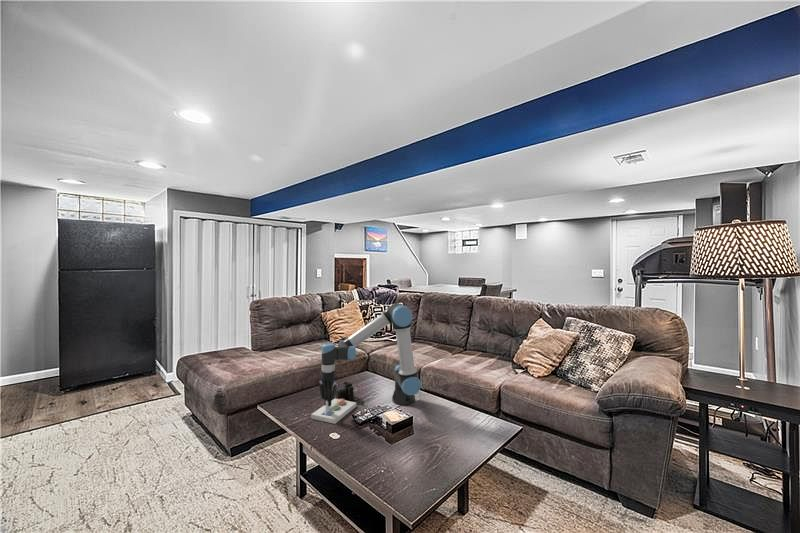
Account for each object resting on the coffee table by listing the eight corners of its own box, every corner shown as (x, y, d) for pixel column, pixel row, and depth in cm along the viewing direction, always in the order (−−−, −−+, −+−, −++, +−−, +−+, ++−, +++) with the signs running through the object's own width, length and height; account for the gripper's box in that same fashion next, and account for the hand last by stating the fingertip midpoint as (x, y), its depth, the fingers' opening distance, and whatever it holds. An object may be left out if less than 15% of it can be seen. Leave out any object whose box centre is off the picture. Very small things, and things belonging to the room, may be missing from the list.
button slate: (333, 415, 195) (333, 410, 195) (329, 419, 191) (329, 414, 191) (326, 414, 197) (326, 409, 197) (322, 417, 193) (322, 412, 192)
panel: (356, 406, 209) (356, 402, 209) (335, 423, 186) (335, 419, 186) (334, 402, 215) (334, 398, 214) (311, 418, 192) (311, 414, 192)
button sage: (340, 408, 202) (340, 403, 202) (335, 412, 197) (335, 407, 197) (333, 407, 204) (333, 402, 203) (329, 410, 199) (329, 405, 199)
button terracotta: (346, 404, 208) (346, 399, 208) (342, 407, 204) (342, 402, 204) (339, 402, 210) (339, 398, 210) (335, 406, 206) (335, 401, 205)
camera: (333, 396, 224) (333, 381, 224) (348, 393, 229) (348, 379, 229) (338, 404, 212) (339, 388, 211) (355, 401, 216) (355, 386, 216)
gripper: (341, 370, 194) (341, 410, 195) (322, 367, 199) (322, 406, 200) (334, 374, 187) (333, 416, 188) (314, 371, 192) (314, 411, 193)
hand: (327, 411), depth 194 cm, fingers closed
